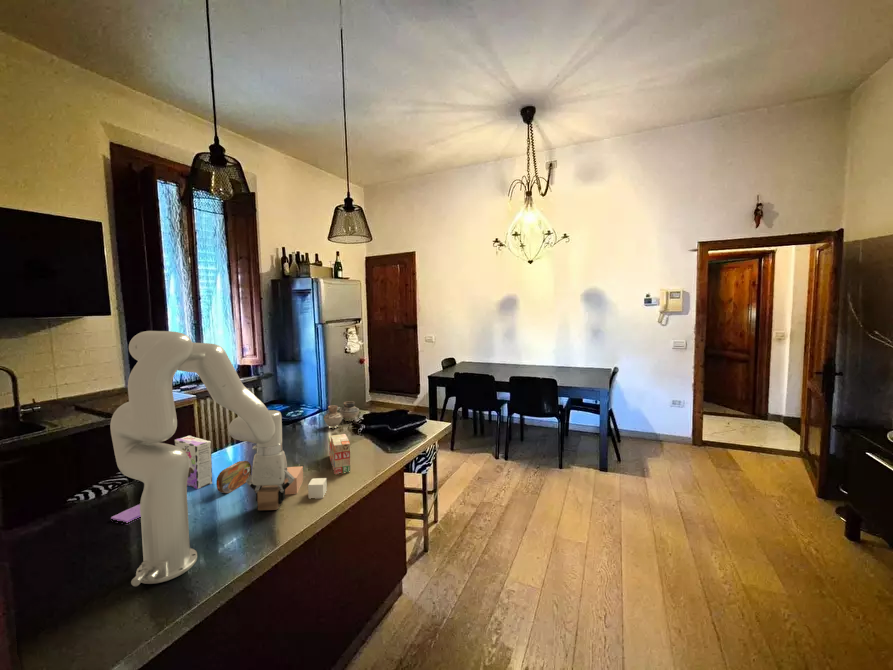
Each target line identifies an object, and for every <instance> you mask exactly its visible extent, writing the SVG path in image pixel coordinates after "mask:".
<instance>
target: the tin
mask: <svg viewBox="0 0 893 670" xmlns="http://www.w3.org/2000/svg"><path fill="white" fill-rule="evenodd" d="M251 475H252V464H251V463H250V462H249V461H248V460H240V461H237V462H235V463H233V464H231V465H230V466H228V467H226V468H224V469H223V470H221V471H220V472H219V474H218V475H217V477H216V480H215V482H216V483H215V485H216V489H217V491H218V492H219V493H221V494H230V493H233V492H234V491H235V490H238V488H240V487H241V486H243V485H244V484H247V483H246V480H247V479H248V478H249V477H250V476H251Z"/></svg>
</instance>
